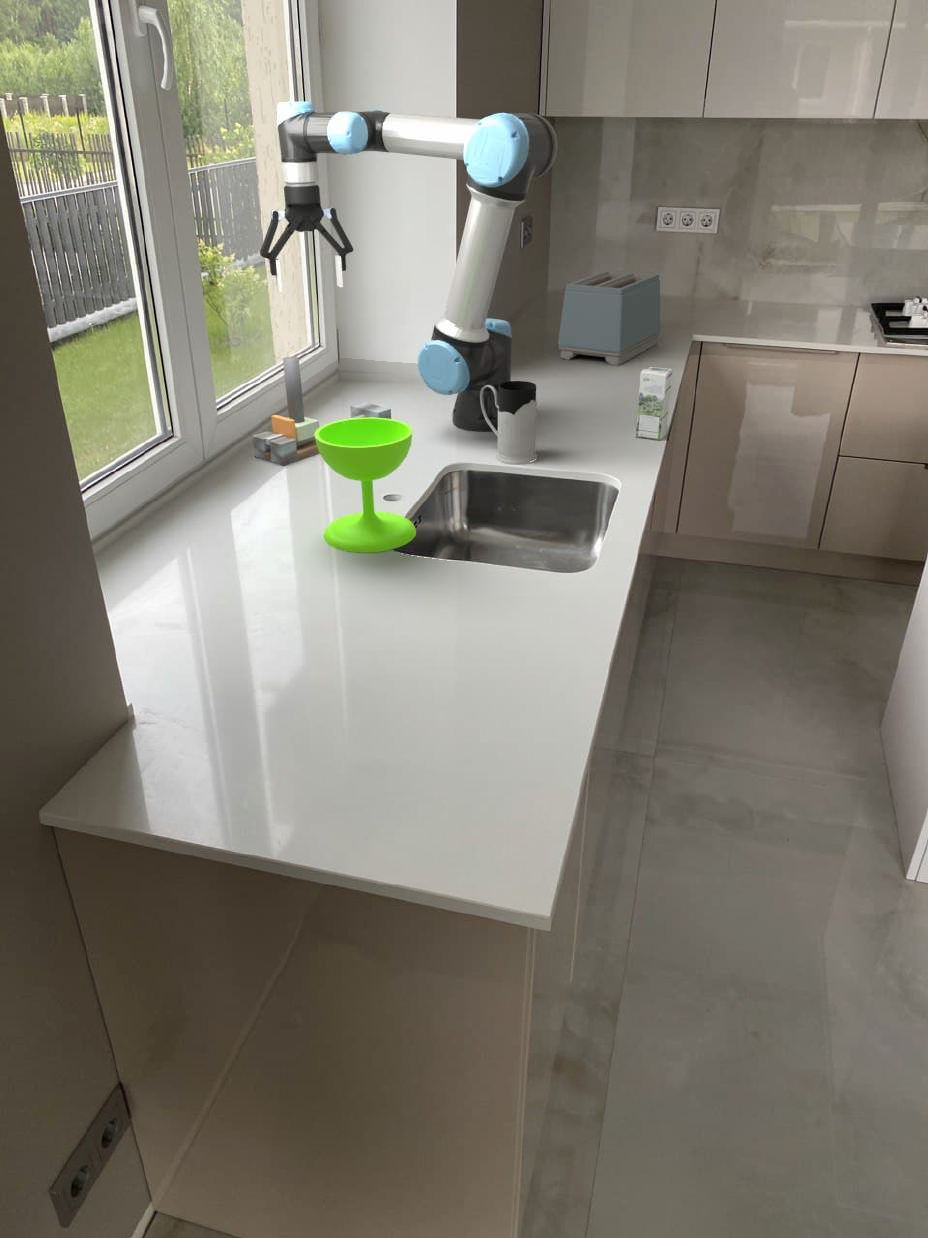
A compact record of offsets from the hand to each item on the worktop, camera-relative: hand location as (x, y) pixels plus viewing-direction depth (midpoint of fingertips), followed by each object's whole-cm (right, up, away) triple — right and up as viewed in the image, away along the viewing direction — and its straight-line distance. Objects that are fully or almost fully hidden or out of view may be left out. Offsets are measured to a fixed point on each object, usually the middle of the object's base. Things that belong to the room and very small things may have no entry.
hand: (310, 288), depth 211 cm
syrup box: (+75, -33, -3) cm, 83 cm away
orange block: (-4, -37, -14) cm, 40 cm away
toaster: (+78, +5, +68) cm, 103 cm away
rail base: (+4, -35, -4) cm, 35 cm away
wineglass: (+18, -59, -48) cm, 78 cm away
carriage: (-1, -35, -11) cm, 36 cm away
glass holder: (+43, -39, -12) cm, 60 cm away
